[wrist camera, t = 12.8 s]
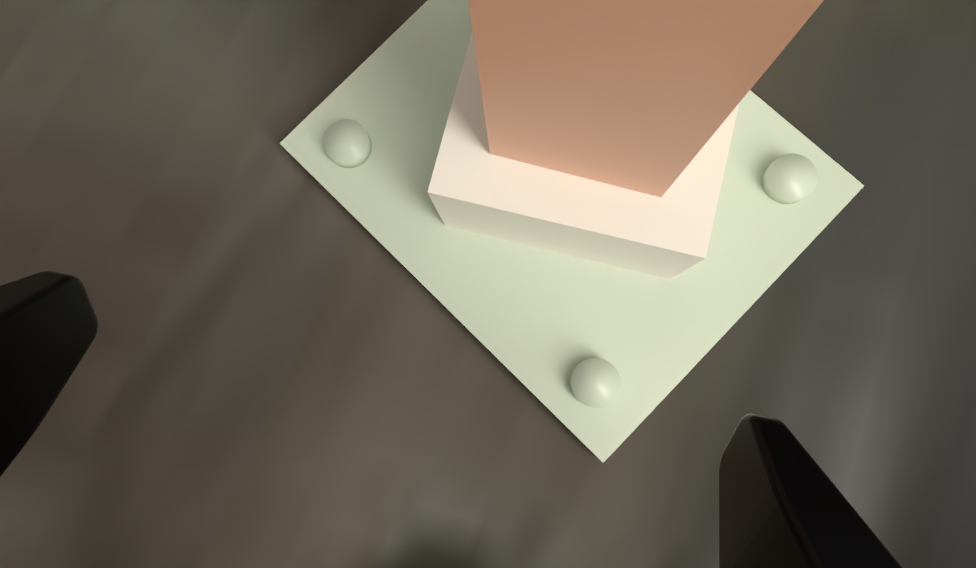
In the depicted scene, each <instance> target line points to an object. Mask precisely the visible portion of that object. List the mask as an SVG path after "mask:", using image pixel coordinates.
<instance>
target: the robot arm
mask: <svg viewBox="0 0 976 568" xmlns="http://www.w3.org/2000/svg"><path fill="white" fill-rule="evenodd" d="M97 328H98V321H97V318H96V315H95V313H94V310H93V308H92V305H91V303H90V300H89V297H88V295H87V292H86V290H85V287H84V285H83V283H82V282H81V281H80V280H79V279H78V278H77V277H75V276H71V275H66V274H61V273H56V272H48V271H46V272H41V273H37V274H34V275H31V276H28V277H25V278H22V279H20V280H17V281H14V282H11V283H8V284H5V285H2V286H0V477H1V475H2V474H3V473H4V471H5V470H6V469H7V468H8V466H9V465H10V464H11V462H12V461H13V460H14V459H15V457H16V456H17V455H18V453H19V452H20V451H21V450H22V448H23V447H24V446H25V444H26V443H27V442H28V440H29V439H30V438H31V436H32V435H33V433H34V432H35V431H36V429H37V428H38V426H39V425H40V423H41V422H42V420H43V419H44V417H45V416H46V414H47V413H48V411H49V409H50V408H51V406H52V405H53V403H54V402H55V400H56V398H57V397H58V395H59V394H60V392H61V390H62V389H63V387H64V386H65V384H66V383H67V381H68V379H69V378H70V376H71V375H72V373H73V371H74V370H75V368H76V367H77V365H78V364H79V362H80V360H81V359H82V357H83V356H84V354H85V352H86V351H87V349H88V348H89V346H90V345H91V343H92V341H93V340H94V338H95V336H96V333H97ZM719 568H902V567H901V566H900V564H899V563H898V562H897V561H896V560H895V558H894V557H893V556H892V555H891V553H890V552H889V551H888V550H887V549H886V547H885V546H884V545H883V544H882V542H881V541H880V540H879V539H878V538H877V536H876V535H875V534H874V533H873V531H872V530H871V529H870V528H869V527H868V525H867V524H866V523H865V522H864V520H863V519H862V518H861V517H860V516H859V514H858V513H857V512H856V511H855V510H854V508H853V507H852V506H851V505H850V503H849V502H848V501H847V500H846V499H845V497H844V496H843V495H842V494H841V492H840V491H839V490H838V489H837V488H836V486H835V485H834V484H833V483H832V481H831V480H830V479H829V478H828V477H827V475H826V474H825V473H824V472H823V471H822V469H821V468H820V467H819V466H818V464H817V463H816V462H815V461H814V460H813V458H812V457H811V456H810V455H809V453H808V452H807V451H806V450H805V449H804V447H803V446H802V445H801V444H800V442H799V441H798V440H797V439H796V438H795V436H794V435H793V434H792V433H791V431H790V430H789V429H788V428H787V427H786V425H785V424H784V423H782V422H781V421H780V420H778V419H775V418H770V417H765V416H760V415H755V414H747V415H745V416H744V417H743V418H742V419H741V420H740V422H739V424H738V426H737V427H736V429H735V431H734V433H733V435H732V436H731V438H730V440H729V442H728V444H727V445H726V447H725V449H724V451H723V453H722V456H721V460H720V466H719Z"/></svg>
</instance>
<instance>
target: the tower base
mask: <svg viewBox="0 0 976 568" xmlns="http://www.w3.org/2000/svg"><path fill="white" fill-rule="evenodd" d="M280 144H281V145H282V146H283V147H284V148H285V149H286V150H287V151H288V152H289V153H290V154H291V155H292V156H293V157H294V158H295V159H296V160H297V161H298V162H299V163H300V164H301V165H302V166H303V167H304V168H305V169H306V170H307V171H308V172H309V173H310V174H311V175H312V176H313V177H314V178H315V179H316V180H317V181H318V182H319V183H320V184H321V185H322V186H323V187H324V188H325V189H326V190H327V191H328V192H329V193H330V194H331V195H332V196H333V197H334V198H335V199H336V200H337V201H338V202H339V203H340V204H341V205H342V206H343V207H344V208H345V209H346V210H347V211H348V212H350V213H351V214H352V215H353V216H354V217H355V218H356V219H357V220H358V221H359V222H360V223H361V224H362V225H363V226H364V227H365V228H366V229H367V230H368V231H369V232H370V233H371V234H372V235H373V236H374V237H375V238H376V239H377V240H378V241H379V242H380V243H381V244H382V245H383V246H384V247H385V248H386V249H387V250H388V251H389V252H390V253H391V254H392V255H393V256H394V257H395V258H396V259H397V260H398V261H399V262H400V263H401V264H402V265H403V266H404V267H405V268H406V269H407V270H408V271H409V272H410V273H411V274H412V275H413V276H414V277H415V278H416V279H417V280H418V281H419V282H420V283H421V284H422V285H423V286H424V287H425V288H426V289H427V290H428V291H430V292H431V293H432V294H433V295H434V296H435V297H436V298H437V299H438V300H439V301H440V302H441V303H442V304H443V305H444V306H445V307H446V308H447V309H448V310H449V311H450V312H451V313H452V314H453V315H454V316H455V317H456V318H457V319H458V320H459V321H460V322H461V323H462V324H463V325H464V326H465V327H466V328H467V329H468V330H469V331H470V332H471V333H472V334H473V335H474V336H475V337H476V338H477V339H478V340H479V341H480V342H481V343H482V344H483V345H484V346H485V347H486V348H487V349H488V350H489V351H490V352H491V353H492V354H493V355H494V356H495V357H496V358H497V359H498V360H499V361H500V362H501V363H502V364H503V365H504V366H505V367H506V368H507V369H508V370H510V371H511V372H512V373H513V374H514V375H515V376H516V377H517V378H518V379H519V380H520V381H521V382H522V383H523V384H524V385H525V386H526V387H527V388H528V389H529V390H530V391H531V392H532V393H533V394H534V395H535V396H536V397H537V398H538V399H539V400H540V401H541V402H542V403H543V404H544V405H545V406H546V407H547V408H548V409H549V410H550V411H551V412H552V413H553V414H554V415H555V416H556V417H557V418H558V419H559V420H560V421H561V422H562V423H563V424H564V425H565V426H566V427H567V428H568V429H569V430H570V431H571V432H572V433H573V434H574V435H575V436H576V437H577V438H578V439H579V440H580V441H581V442H582V443H583V444H584V445H585V446H586V447H587V448H588V449H590V450H591V451H592V452H593V453H594V454H595V455H596V456H597V457H598V458H599V459H600V460H601V461H602V462H603V463H604V462H605V460H606V459H607V458H608V457H609V456H610V455H611V454H612V453H613V452H614V451H615V450H616V449H617V448H618V447H619V446H620V445H621V444H622V442H623V441H624V440H625V439H626V438H627V437H628V436H629V435H630V434H631V433H632V432H633V431H634V430H635V429H636V428H637V427H638V425H639V424H640V423H641V422H642V421H643V420H644V419H645V418H646V417H647V416H648V415H649V414H650V413H651V412H652V411H653V410H654V408H655V407H656V406H657V405H658V404H659V403H660V402H661V401H662V400H663V399H664V398H665V397H666V396H667V395H668V394H669V393H670V392H671V390H672V389H673V388H674V387H675V386H676V385H677V384H678V383H679V382H680V381H681V380H682V379H683V378H684V377H685V376H686V375H687V373H688V372H689V371H690V370H691V369H692V368H693V367H694V366H695V365H696V364H697V363H698V362H699V361H700V360H701V359H702V358H703V356H704V355H705V354H706V353H707V352H708V351H709V350H710V349H711V348H712V347H713V346H714V345H715V344H716V343H717V342H718V341H719V340H720V338H721V337H722V336H723V335H724V334H725V333H726V332H727V331H728V330H729V329H730V328H731V327H732V326H733V325H734V324H735V323H736V321H737V320H738V319H739V318H740V317H741V316H742V315H743V314H744V313H745V312H746V311H747V310H748V309H749V308H750V307H751V306H752V304H753V303H754V302H755V301H756V300H757V299H758V298H759V297H760V296H761V295H762V294H763V293H764V292H765V291H766V290H767V289H768V288H769V286H770V285H771V284H772V283H773V282H774V281H775V280H776V279H777V278H778V277H779V276H780V275H781V274H782V273H783V272H784V271H785V269H786V268H787V267H788V266H789V265H790V264H791V263H792V262H793V261H794V260H795V259H796V258H797V257H798V256H799V255H800V254H801V252H802V251H803V250H804V249H805V248H806V247H807V246H808V245H809V244H810V243H811V242H812V241H813V240H814V239H815V238H816V237H817V236H818V234H819V233H820V232H821V231H822V230H823V229H824V228H825V227H826V226H827V225H828V224H829V223H830V222H831V221H832V220H833V219H834V217H835V216H836V215H837V214H838V213H839V212H840V211H841V210H842V209H843V208H844V207H845V206H846V205H847V204H848V203H849V202H850V200H851V199H852V198H853V197H854V196H855V195H856V194H857V193H858V192H859V191H860V190H861V189H862V188H863V187H864V185H863V184H861V183H860V182H859V181H858V180H857V179H855V178H854V177H853V176H852V175H851V174H849V173H848V172H847V171H846V170H845V169H843V168H842V167H841V166H840V165H839V164H837V163H836V162H835V161H834V160H833V159H831V158H830V157H829V156H828V155H827V154H826V153H824V152H823V151H822V150H821V149H820V148H818V147H817V146H816V145H815V144H814V143H812V142H811V141H810V140H809V139H808V138H806V137H805V136H804V135H803V134H802V133H800V132H799V131H798V130H797V129H796V128H794V127H793V126H792V125H791V124H790V123H788V122H787V121H786V120H785V119H784V118H783V117H781V116H780V115H779V114H778V113H777V112H775V111H774V110H773V109H772V108H771V107H769V106H768V105H767V104H766V103H765V102H763V101H762V100H761V99H760V98H759V97H757V96H756V95H755V94H754V93H753V92H751V91H750V90H749V92H748V93H747V94H746V95H745V97H744V98H743V99H742V100H741V101H740V103H739V104H738V105H737V106H736V107H735V109H734V110H733V111H732V112H731V114H730V115H729V116H728V117H727V118H726V120H725V121H724V122H723V123H722V124H721V126H720V127H719V128H718V129H717V130H716V132H715V133H714V134H713V135H712V137H711V138H710V139H709V140H708V141H707V143H706V144H705V145H704V146H703V147H702V149H701V150H700V151H699V152H698V154H697V155H696V156H695V157H694V158H693V160H692V161H691V162H690V163H689V164H688V166H687V167H686V168H685V169H684V171H683V172H682V173H681V174H680V175H679V177H678V178H677V179H676V180H675V181H674V183H673V184H672V185H671V186H670V188H669V189H668V190H667V191H666V192H665V194H664V195H663V196H662V197H657V196H653V195H649V194H645V193H641V192H637V191H633V190H629V189H626V188H622V187H618V186H614V185H610V184H606V183H602V182H598V181H594V180H590V179H586V178H582V177H578V176H574V175H571V174H567V173H563V172H559V171H555V170H551V169H547V168H543V167H539V166H535V165H531V164H527V163H523V162H519V161H516V160H512V159H508V158H504V157H500V156H496V155H492V154H490V151H489V144H488V137H487V130H486V123H485V116H484V109H483V102H482V95H481V88H480V80H479V73H478V66H477V59H476V52H475V45H474V38H473V31H472V24H471V17H470V10H469V3H468V0H427V1H426V2H425V3H424V4H423V5H422V6H421V7H420V8H419V9H418V10H417V11H416V12H415V13H414V14H413V15H412V16H411V17H410V18H409V19H408V20H407V21H406V22H405V23H404V24H403V25H402V26H401V27H399V28H398V29H397V30H396V31H395V32H394V33H393V34H392V35H391V36H390V37H389V38H388V39H387V40H386V41H385V42H384V43H383V44H382V45H381V46H380V47H379V48H378V49H377V50H376V51H375V52H374V53H373V54H372V55H370V56H369V57H368V58H367V59H366V60H365V61H364V62H363V63H362V64H361V65H360V66H359V67H358V68H357V69H356V70H355V71H354V72H353V73H352V74H351V75H350V76H349V77H348V78H347V79H346V80H345V81H344V82H343V83H341V84H340V85H339V86H338V87H337V88H336V89H335V90H334V91H333V92H332V93H331V94H330V95H329V96H328V97H327V98H326V99H325V100H324V101H323V102H322V103H321V104H320V105H319V106H318V107H317V108H316V109H315V110H314V111H313V112H311V113H310V114H309V115H308V116H307V117H306V118H305V119H304V120H303V121H302V122H301V123H300V124H299V125H298V126H297V127H296V128H295V129H294V130H293V131H292V132H291V133H290V134H289V135H288V136H287V137H286V138H285V139H284V140H282V141H281V142H280Z"/></svg>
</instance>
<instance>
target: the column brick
mask: <svg viewBox="0 0 976 568" xmlns="http://www.w3.org/2000/svg"><path fill="white" fill-rule="evenodd" d="M823 1H824V0H468V3H469V10H470V17H471V24H472V31H473V38H474V45H475V52H476V59H477V66H478V73H479V80H480V88H481V95H482V102H483V109H484V116H485V123H486V130H487V137H488V144H489V151H490V154H492V155H496V156H500V157H504V158H508V159H512V160H516V161H519V162H523V163H527V164H531V165H535V166H539V167H543V168H547V169H551V170H555V171H559V172H563V173H567V174H571V175H574V176H578V177H582V178H586V179H590V180H594V181H598V182H602V183H606V184H610V185H614V186H618V187H622V188H626V189H629V190H633V191H637V192H641V193H645V194H649V195H653V196H657V197H662V196H663V195H664V194H665V192H666V191H667V190H668V189H669V188H670V186H671V185H672V184H673V183H674V181H675V180H676V179H677V178H678V177H679V175H680V174H681V173H682V172H683V171H684V169H685V168H686V167H687V166H688V164H689V163H690V162H691V161H692V160H693V158H694V157H695V156H696V155H697V154H698V152H699V151H700V150H701V149H702V147H703V146H704V145H705V144H706V143H707V141H708V140H709V139H710V138H711V137H712V135H713V134H714V133H715V132H716V130H717V129H718V128H719V127H720V126H721V124H722V123H723V122H724V121H725V120H726V118H727V117H728V116H729V115H730V114H731V112H732V111H733V110H734V109H735V107H736V106H737V105H738V104H739V103H740V101H741V100H742V99H743V98H744V97H745V95H746V94H747V93H748V92H749V90H750V89H751V88H752V87H753V86H754V84H755V83H756V82H757V81H758V80H759V78H760V77H761V76H762V75H763V73H764V72H765V71H766V70H767V69H768V67H769V66H770V65H771V64H772V63H773V61H774V60H775V59H776V58H777V56H778V55H779V54H780V53H781V52H782V50H783V49H784V48H785V47H786V46H787V44H788V43H789V42H790V41H791V39H792V38H793V37H794V36H795V35H796V33H797V32H798V31H799V30H800V29H801V27H802V26H803V25H804V24H805V22H806V21H807V20H808V19H809V18H810V16H811V15H812V14H813V13H814V12H815V10H816V9H817V8H818V7H819V5H820V4H821V3H822V2H823Z"/></svg>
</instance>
